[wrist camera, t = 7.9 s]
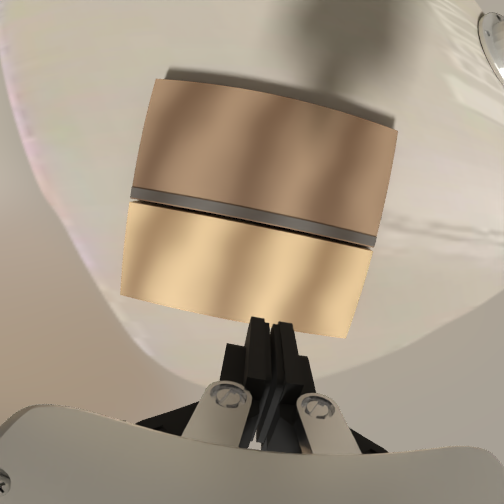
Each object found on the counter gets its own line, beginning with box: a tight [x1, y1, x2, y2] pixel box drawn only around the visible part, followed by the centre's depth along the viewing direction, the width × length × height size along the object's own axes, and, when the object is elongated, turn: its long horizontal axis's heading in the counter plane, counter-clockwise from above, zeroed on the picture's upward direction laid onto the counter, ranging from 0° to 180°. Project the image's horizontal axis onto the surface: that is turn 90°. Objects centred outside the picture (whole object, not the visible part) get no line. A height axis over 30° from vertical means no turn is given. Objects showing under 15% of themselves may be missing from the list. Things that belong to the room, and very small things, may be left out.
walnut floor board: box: [130, 79, 398, 247], centre depth 23 cm, size 20×10×2 cm, turn 78°
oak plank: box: [120, 201, 373, 338], centre depth 25 cm, size 20×8×2 cm, turn 78°
